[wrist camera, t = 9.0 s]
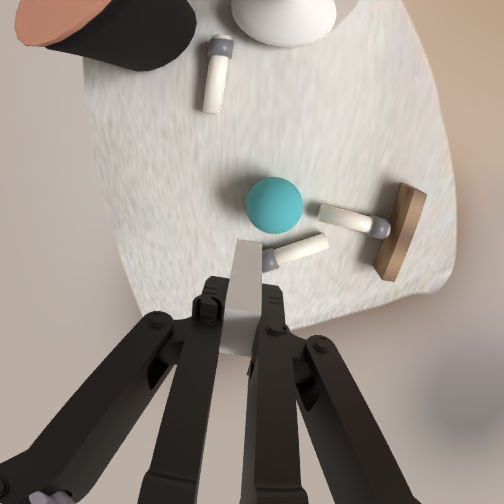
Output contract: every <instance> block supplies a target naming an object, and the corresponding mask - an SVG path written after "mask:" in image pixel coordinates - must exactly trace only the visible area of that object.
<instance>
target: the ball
mask: <svg viewBox="0 0 504 504" xmlns="http://www.w3.org/2000/svg"><path fill="white" fill-rule="evenodd" d="M302 209H303V202H302V198H301V195H300V193H299V191H298V189H297V188H296V187H295V186H294V185H293V184H292V183H291V182H289V181H287V180H285V179H282V178H278V177H270V178H266V179H263V180H261V181H259V182H258V183H256V184H255V185H254V186H253V187H252V188H251V190H250V191H249V193H248V196H247V199H246V211H247V215H248V217H249V219H250V221H251V222H252V224H253V225H254V226H255V227H257V228H258V229H259V230H261V231H263V232H266V233H270V234H279V233H283V232H286V231H288V230H290V229H291V228H292V227H294V226H295V225H296V223H297V222H298V221H299V219H300V217H301V214H302Z"/></svg>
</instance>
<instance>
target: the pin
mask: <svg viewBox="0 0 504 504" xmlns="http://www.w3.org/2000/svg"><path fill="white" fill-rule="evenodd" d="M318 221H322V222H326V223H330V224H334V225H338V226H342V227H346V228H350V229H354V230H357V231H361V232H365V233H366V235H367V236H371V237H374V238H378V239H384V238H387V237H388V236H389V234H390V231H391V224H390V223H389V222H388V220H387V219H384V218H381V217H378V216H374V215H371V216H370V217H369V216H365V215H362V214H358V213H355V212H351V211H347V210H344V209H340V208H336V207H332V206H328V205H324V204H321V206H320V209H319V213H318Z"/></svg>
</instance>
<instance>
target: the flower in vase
mask: <svg viewBox="0 0 504 504" xmlns="http://www.w3.org/2000/svg"><path fill="white" fill-rule="evenodd" d="M231 11H232V15H233V18H234V20H235V22H236V23H237V25H238V26H239V27H240V28H241V29H242V30H243V31H244V32H245V33H246V34H247V35H249V36H250V37H252V38H254V39H255V40H257V41H260V42H262V43H265V44H268V45H272V46H277V47H288V48H292V47H301V46H306V45H310V44H312V43H315V42H317V41H319V40H320V39H322V38H323V37H325V36H326V35H327V34H328V33H329V32H330V30H331V29H332V28H333V25H334V23H335V20H336V7H335V4H334V1H333V0H232V2H231Z"/></svg>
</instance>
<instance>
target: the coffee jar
mask: <svg viewBox="0 0 504 504" xmlns="http://www.w3.org/2000/svg"><path fill="white" fill-rule="evenodd" d="M196 24H197V22H196V16H195V12H194V10H193V9H192V7H191V6H190V4H189V3H188V2H187V0H21V1H20V3H19V6H18V9H17V12H16V18H15V31H16V35H17V38H18V39H19V40H20V41H21V42H22V43H23V44H24V45H26V46H42V47H46V48H47V49H50V50H56V51H60V52H65V53H70V54H75V55H79V56H83V57H88V58H92V59H95V60H99V61H103V62H107V63H110V64H114V65H117V66H120V67H123V68H127V69H131V70H134V71H150V70H153V69H156V68H159V67H162V66H165V65H166V64H168V63H169V62H171V61H172V60H174V59H176V58H177V57H178V56H179V55H180V54H181V53H182V52H183V51H184V50H185V49H186V48H187V47H188V45H189V43H190V41H191V40H192V38H193V36H194V33H195V28H196Z"/></svg>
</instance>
